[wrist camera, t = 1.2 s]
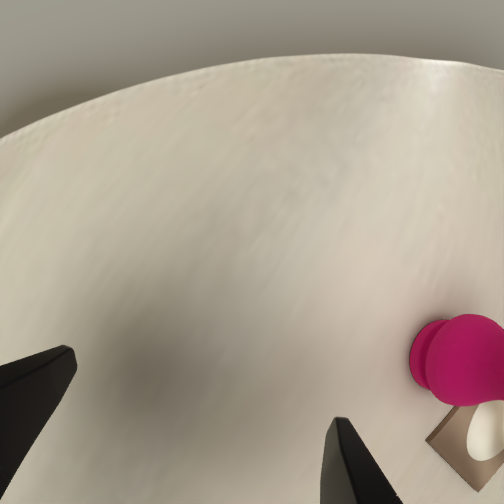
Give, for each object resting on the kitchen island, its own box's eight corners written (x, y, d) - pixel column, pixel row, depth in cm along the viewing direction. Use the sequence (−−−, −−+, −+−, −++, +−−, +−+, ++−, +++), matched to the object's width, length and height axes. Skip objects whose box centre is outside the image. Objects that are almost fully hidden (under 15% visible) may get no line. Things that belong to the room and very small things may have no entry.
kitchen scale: (474, 489, 20) (479, 493, 19) (425, 440, 22) (430, 443, 21) (540, 400, 22) (546, 402, 21) (503, 335, 23) (510, 335, 22)
